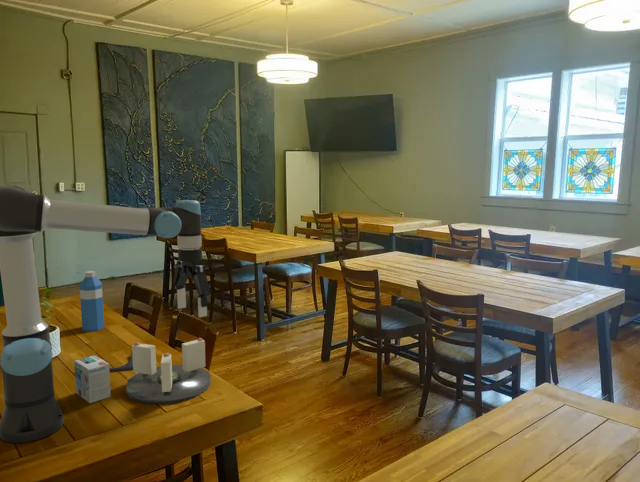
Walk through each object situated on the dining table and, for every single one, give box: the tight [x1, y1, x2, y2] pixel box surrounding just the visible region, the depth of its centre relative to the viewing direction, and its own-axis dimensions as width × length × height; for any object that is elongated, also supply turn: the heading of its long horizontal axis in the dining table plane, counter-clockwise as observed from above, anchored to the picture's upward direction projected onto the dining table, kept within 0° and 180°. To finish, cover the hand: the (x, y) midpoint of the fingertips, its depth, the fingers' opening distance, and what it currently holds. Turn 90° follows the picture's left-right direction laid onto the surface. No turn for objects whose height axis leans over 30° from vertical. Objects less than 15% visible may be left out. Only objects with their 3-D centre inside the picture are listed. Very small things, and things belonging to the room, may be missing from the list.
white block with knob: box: [160, 352, 173, 392], centre depth 158 cm, size 7×3×11 cm, turn 13°
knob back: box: [131, 341, 157, 377], centre depth 169 cm, size 7×3×11 cm, turn 73°
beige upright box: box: [181, 337, 206, 373], centre depth 172 cm, size 7×3×11 cm, turn 133°
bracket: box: [109, 350, 133, 373], centre depth 187 cm, size 14×15×3 cm
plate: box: [125, 364, 211, 405], centre depth 167 cm, size 26×26×4 cm
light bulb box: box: [73, 355, 112, 404], centre depth 160 cm, size 11×7×11 cm, turn 47°
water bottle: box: [79, 270, 105, 332], centre depth 225 cm, size 9×9×25 cm
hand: (192, 312), depth 170 cm, fingers open, 13 cm apart
